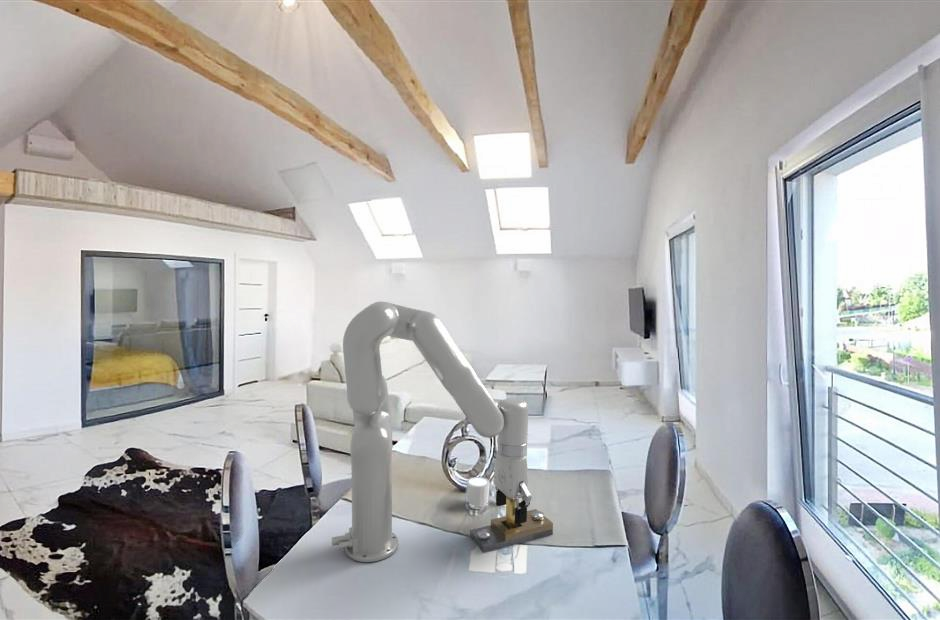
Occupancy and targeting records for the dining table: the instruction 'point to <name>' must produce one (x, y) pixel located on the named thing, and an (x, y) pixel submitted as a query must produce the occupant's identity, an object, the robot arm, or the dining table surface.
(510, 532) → the bolted fixture plate
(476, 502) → the white pillar candle
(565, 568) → the dining table surface
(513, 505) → the brass pin
